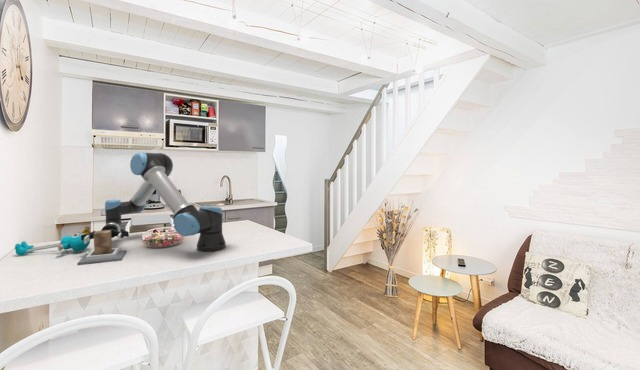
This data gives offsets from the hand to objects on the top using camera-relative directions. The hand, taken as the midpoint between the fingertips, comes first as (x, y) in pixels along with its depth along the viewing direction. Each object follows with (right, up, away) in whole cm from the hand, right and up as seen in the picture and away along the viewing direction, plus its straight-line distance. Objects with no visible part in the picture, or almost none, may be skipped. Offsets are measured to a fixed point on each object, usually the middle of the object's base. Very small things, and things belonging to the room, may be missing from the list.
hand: (102, 239), depth 149 cm
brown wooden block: (0, -8, 0) cm, 8 cm away
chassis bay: (0, -9, 0) cm, 9 cm away
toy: (-30, -9, +9) cm, 33 cm away
